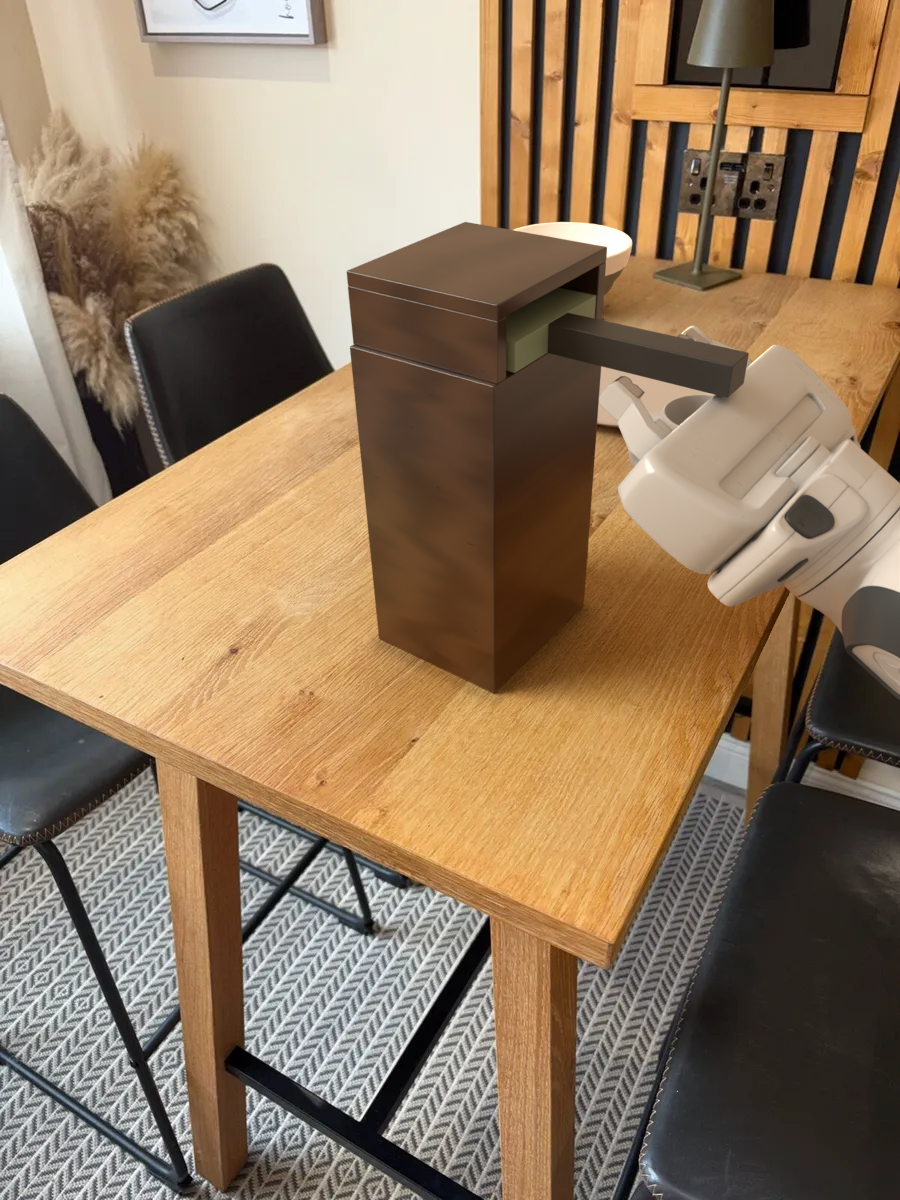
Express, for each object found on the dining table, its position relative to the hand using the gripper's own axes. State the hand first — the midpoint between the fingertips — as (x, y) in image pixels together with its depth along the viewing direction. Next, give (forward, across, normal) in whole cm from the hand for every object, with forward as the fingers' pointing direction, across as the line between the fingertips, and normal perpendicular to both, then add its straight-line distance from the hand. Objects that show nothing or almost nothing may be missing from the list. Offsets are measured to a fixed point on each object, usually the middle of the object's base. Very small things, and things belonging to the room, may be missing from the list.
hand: (646, 360), depth 58 cm
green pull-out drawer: (+4, 0, +3) cm, 5 cm away
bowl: (+28, -70, +47) cm, 89 cm away
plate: (+8, -48, +35) cm, 60 cm away
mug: (-7, -26, +27) cm, 38 cm away
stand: (-2, 0, +30) cm, 30 cm away
